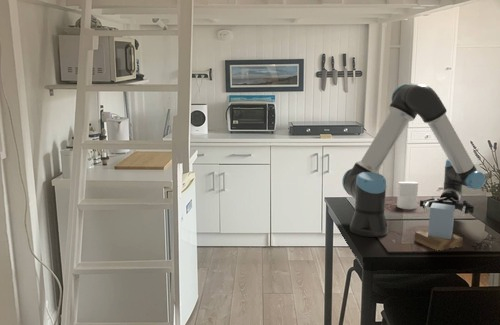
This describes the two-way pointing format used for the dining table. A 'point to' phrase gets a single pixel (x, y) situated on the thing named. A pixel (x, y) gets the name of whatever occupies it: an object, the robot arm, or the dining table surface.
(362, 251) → the dining table surface
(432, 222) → the slate block
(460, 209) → the robot arm
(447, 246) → the walnut block
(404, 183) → the white cylinder
